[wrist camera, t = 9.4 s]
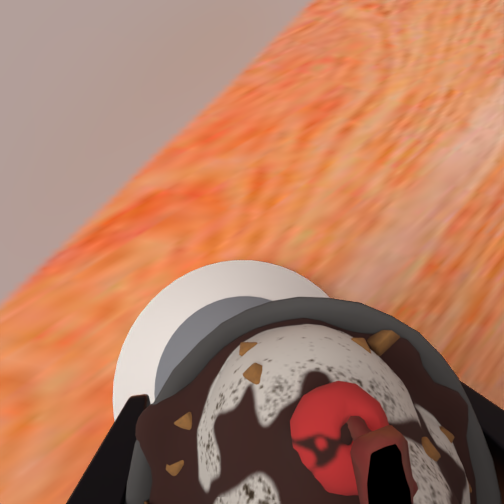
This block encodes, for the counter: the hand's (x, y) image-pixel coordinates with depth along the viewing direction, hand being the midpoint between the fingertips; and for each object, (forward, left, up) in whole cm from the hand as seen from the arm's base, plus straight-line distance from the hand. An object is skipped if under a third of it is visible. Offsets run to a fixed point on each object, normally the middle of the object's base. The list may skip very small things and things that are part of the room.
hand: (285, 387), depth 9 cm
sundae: (-1, +1, -8) cm, 8 cm away
